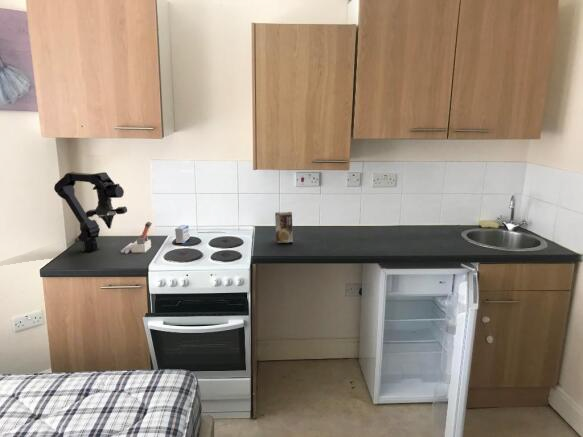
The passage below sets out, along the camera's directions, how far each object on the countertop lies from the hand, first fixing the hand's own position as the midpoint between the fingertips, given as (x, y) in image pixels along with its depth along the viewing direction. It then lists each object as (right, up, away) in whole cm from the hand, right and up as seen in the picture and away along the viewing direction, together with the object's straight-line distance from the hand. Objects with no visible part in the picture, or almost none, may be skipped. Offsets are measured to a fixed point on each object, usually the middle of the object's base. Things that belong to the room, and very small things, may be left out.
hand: (109, 228), depth 227 cm
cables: (+7, -11, +8) cm, 15 cm away
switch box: (+14, -11, +8) cm, 19 cm away
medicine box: (+32, -8, +19) cm, 39 cm away
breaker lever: (+15, -6, +6) cm, 17 cm away
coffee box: (+88, -8, +15) cm, 90 cm away
